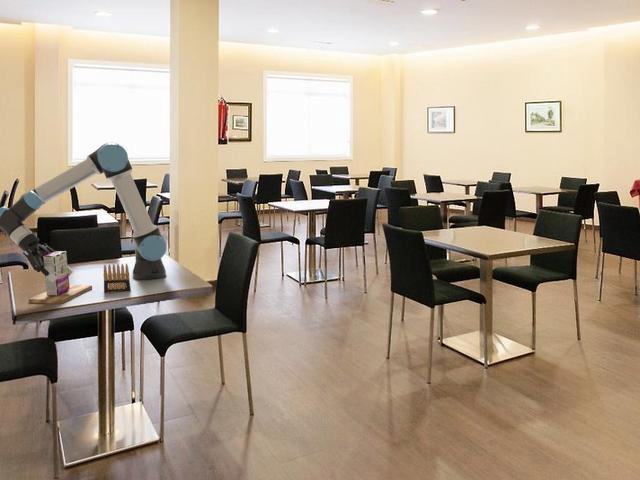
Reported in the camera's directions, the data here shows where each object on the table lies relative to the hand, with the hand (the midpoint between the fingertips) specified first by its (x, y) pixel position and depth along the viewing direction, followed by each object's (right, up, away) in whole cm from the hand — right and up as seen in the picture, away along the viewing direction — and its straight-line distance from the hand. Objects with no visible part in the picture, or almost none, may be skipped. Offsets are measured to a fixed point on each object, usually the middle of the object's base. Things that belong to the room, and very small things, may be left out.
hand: (63, 276), depth 248 cm
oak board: (-2, -8, +4) cm, 9 cm away
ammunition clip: (+19, -7, +10) cm, 22 cm away
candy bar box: (-3, -7, +1) cm, 7 cm away
